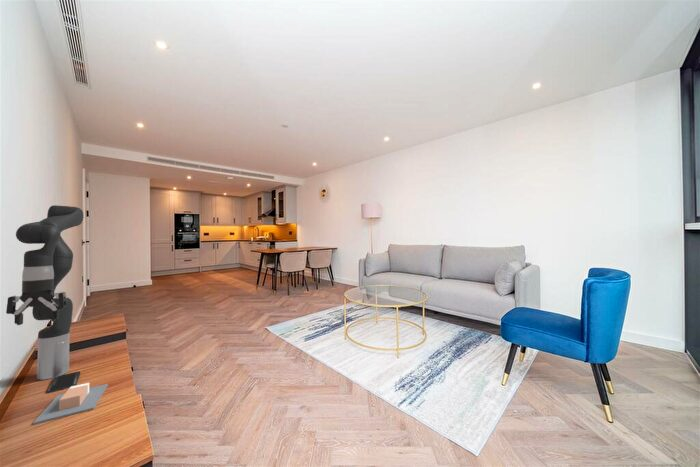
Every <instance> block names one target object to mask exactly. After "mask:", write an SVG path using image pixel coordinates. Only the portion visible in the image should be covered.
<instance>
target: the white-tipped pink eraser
mask: <svg viewBox="0 0 700 467" xmlns="http://www.w3.org/2000/svg"><path fill="white" fill-rule="evenodd" d="M89 388H90V382H85V383H82V384H77V385H76V386H71V387H70V388H68V389H67V390H66V392H64V393H65V394H64V393H63V394H64V395H63V396H62V398H61V399H60V400H59V411H60V410H64V409H69V408H73V407H77V406H80V405H81V403H82V402H83V400H84V399H85V397H86V396H87V395H88V393H89Z"/></svg>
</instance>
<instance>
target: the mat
mask: <svg viewBox="0 0 700 467" xmlns="http://www.w3.org/2000/svg"><path fill="white" fill-rule="evenodd" d="M108 386H109V384H108V383H105V384H102V385H95V386H92V387H89V393H88V395H87V396H86V397H85V399H84V400H83V402H82V403H81V405H80V406H77V407H73V408H69V409H64V410H60V411H59V400H60V399H61V398H62V396H63V395H64V394H65V393H66V392H64V393H61V394H57V396H55V397H54V399H53V400H52V401H51V402H50V403H49V404H48V406H47V407H46V408H45V409H44V410H43V411H42V412H41V414H40V415H38V417H37V418H35V420H34V421H33V422H32V426H33V425H37V424H41V423H44V422H45V423H46V422H49V421H52V420H53V421H54V420H57V419H60V418H65V417H69V416H73V415H76V414H80V413H84V412H89V411H92V410H95V408H96V406H97V405H98V404H99V401H100V399H101V398H102V396H103V395H104V393H105V391H106V389H107V388H108Z"/></svg>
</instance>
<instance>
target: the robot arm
mask: <svg viewBox="0 0 700 467" xmlns="http://www.w3.org/2000/svg"><path fill="white" fill-rule="evenodd" d="M83 221H84V211H83V209H81V208H80V207H77V206H71V205H51V206H50V207H49V208H48V210H47V217H46V218H44V219H42V220H39V221H34V222H29V223H25V224H22V225H20V226H19V227H18V228H17V229H16V232H15V237H16V240H18V241H19V242H21V243H23V244H27V245H28V244H29V245H30V244H31V245H32V244H33V245H34V244H41V245H42V244H44V245H43V246H41V248H37V249H32V250H28V251H25V252H24V254H23V270H22V272H21V273H22V275H21V276H22V277H21V279H22V280H21V295H19V296H18V295H17V296H16V295H12V296H9V297H7V304H6V310H5V311H6V312H5V313H6V314H7V315H14V322H13V323H14V324H15V325H16V326H22V325H23V324H24V313H23V312H25V310H27V308H29V307H30V308H32V309H31V310H32V311H31V313H32V317H33V319H35V320H36V321H49V320H50V321H51V322H52V324H51V325H50V326H47V327H45V328H43V329H42V328H41V329H40V330H39V331H38V334H37V369H36V372H37V373H36V378H37V380H39V381H41V380H42V381H43V380H49V379H54V378H55V377H57V376H61V375H65V374H68V372H69V371H70V333H71V331H70V330H71V326H72V322H73V321H72V320H73V309H74V304H73V301H72V299H71V298H70V297H67V295H66V292H65V291H61V292H57V293H56V289H57V286H58V285H59V284H60V282H61V281H62V280H63V279H64V278H65V277H67V275H68V274H69V273H70V272H71V270H72V267H73V259H74V253H73V251H72V249H71V248H70V247H69V246H68V244H67V243H66V241H65V240H64V239H63V238H62V236H61V233H62V232H63V231H66V230H68V229H71V228H75V227H78V226H80V225H81V224H83ZM19 300H20V301H21V302H22V304H21V305H20V306H19V307H18V309H16V307H17V303H18V302H19Z"/></svg>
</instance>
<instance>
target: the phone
mask: <svg viewBox="0 0 700 467" xmlns="http://www.w3.org/2000/svg"><path fill="white" fill-rule="evenodd" d="M80 375H81V371H75V372H70V373H65V374H63V375H61V376H57V377H54V378H52V381H51V383H50V385H49V387H48V389H47V394H52V393H55V392H58V391H64V390H68V389H69V388H70V387H71V386H76V385H78V384H79V383H78V382H79V379H80Z"/></svg>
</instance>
